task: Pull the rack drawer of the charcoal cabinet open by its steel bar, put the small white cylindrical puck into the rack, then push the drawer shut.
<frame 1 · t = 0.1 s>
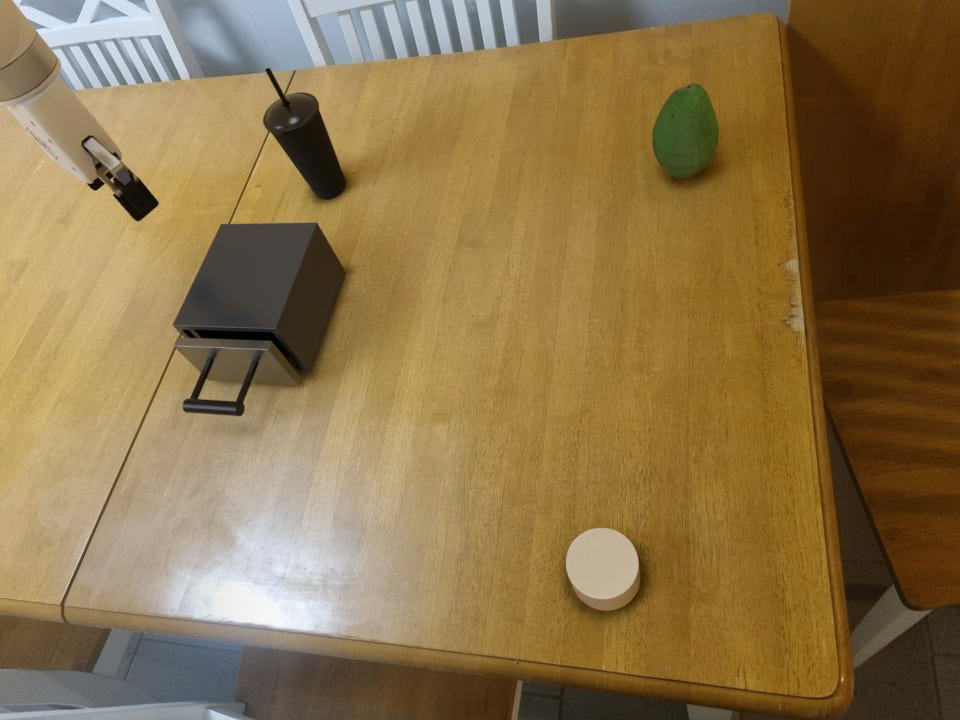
hand: (125, 197, 83), 20 cm above the table, tool pointing down, fingers open, 9 cm apart
drinking cup: (331, 188, 106), on the table
drawer: (247, 338, 87), point 5 cm above the table, slide at 1.0 cm
white cylindrical puck: (605, 575, 68), on the table
fruit: (684, 169, 93), on the table
cabinet: (282, 319, 94), on the table
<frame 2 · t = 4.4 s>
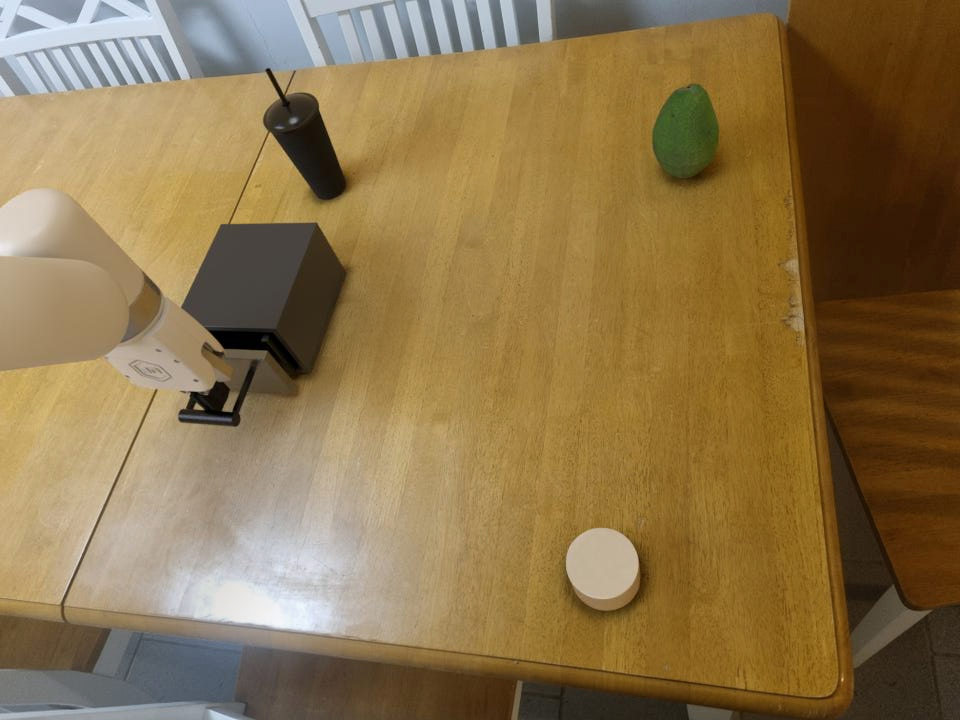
hand: (219, 401, 83), 5 cm above the table, tool pointing down, fingers closed
drawer: (244, 347, 87), point 5 cm above the table, slide at 2.3 cm, touching gripper
everything else where it was.
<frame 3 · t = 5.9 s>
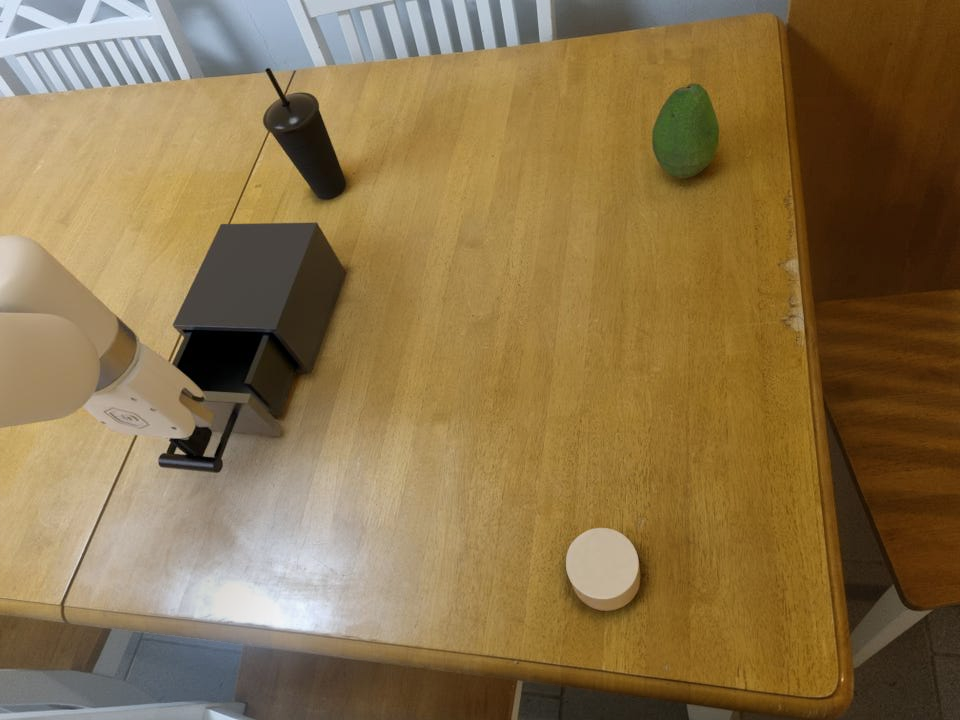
hand: (201, 444, 80), 5 cm above the table, tool pointing down, fingers closed
drawer: (227, 387, 84), point 5 cm above the table, slide at 7.7 cm, touching gripper
everything else where it was.
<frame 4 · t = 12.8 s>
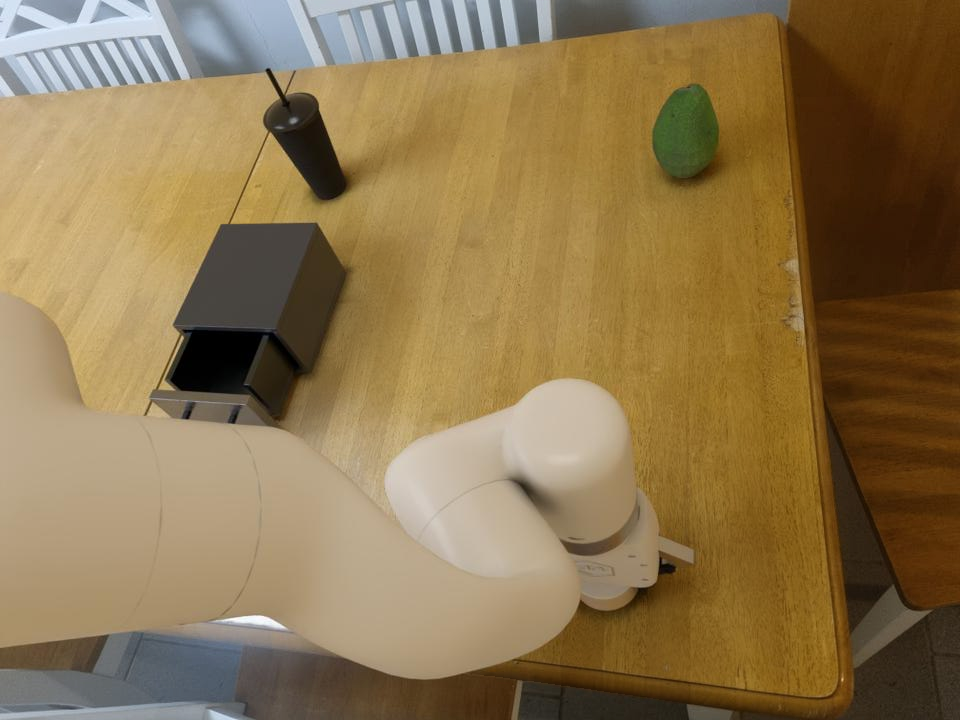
hand: (604, 573, 67), 1 cm above the table, tool pointing down, fingers closed on white cylindrical puck, 6 cm apart
drawer: (227, 388, 84), point 5 cm above the table, slide at 7.9 cm
white cylindrical puck: (605, 575, 68), on the table, touching gripper
everything else where it was.
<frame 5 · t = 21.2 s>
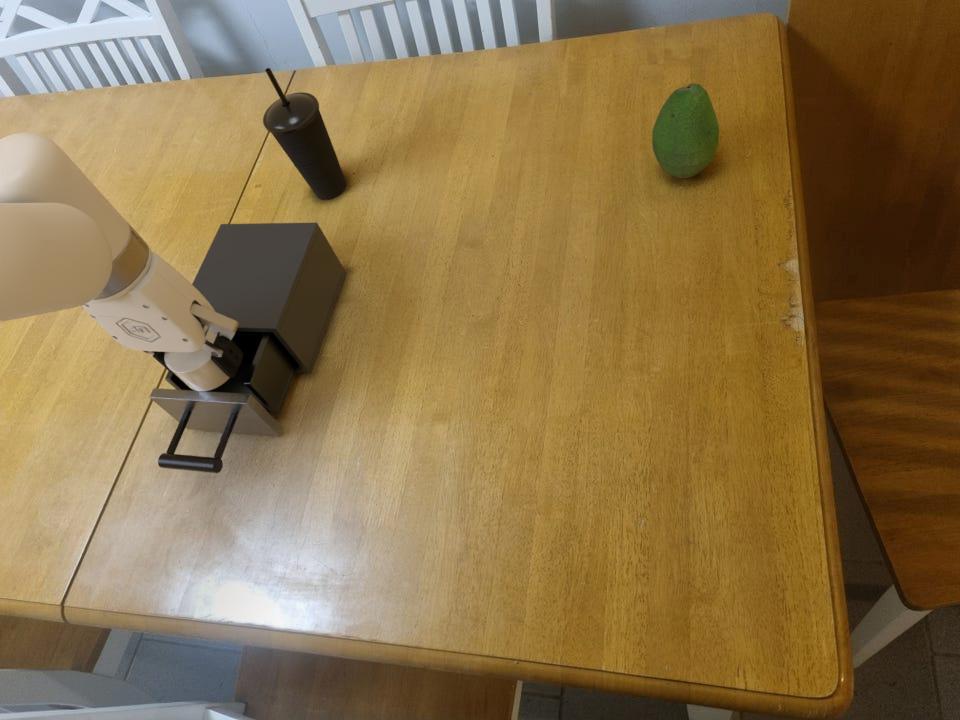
hand: (208, 363, 80), 9 cm above the table, tool pointing down, fingers closed on white cylindrical puck, 6 cm apart
drawer: (227, 387, 84), point 5 cm above the table, slide at 7.8 cm, touching white cylindrical puck
white cylindrical puck: (211, 366, 81), point 9 cm above the table, touching drawer, gripper
everything else where it was.
when the fingers open (9 cm above the table, at t = 21.3 s): white cylindrical puck drops 3 cm and tips over, resting on drawer.
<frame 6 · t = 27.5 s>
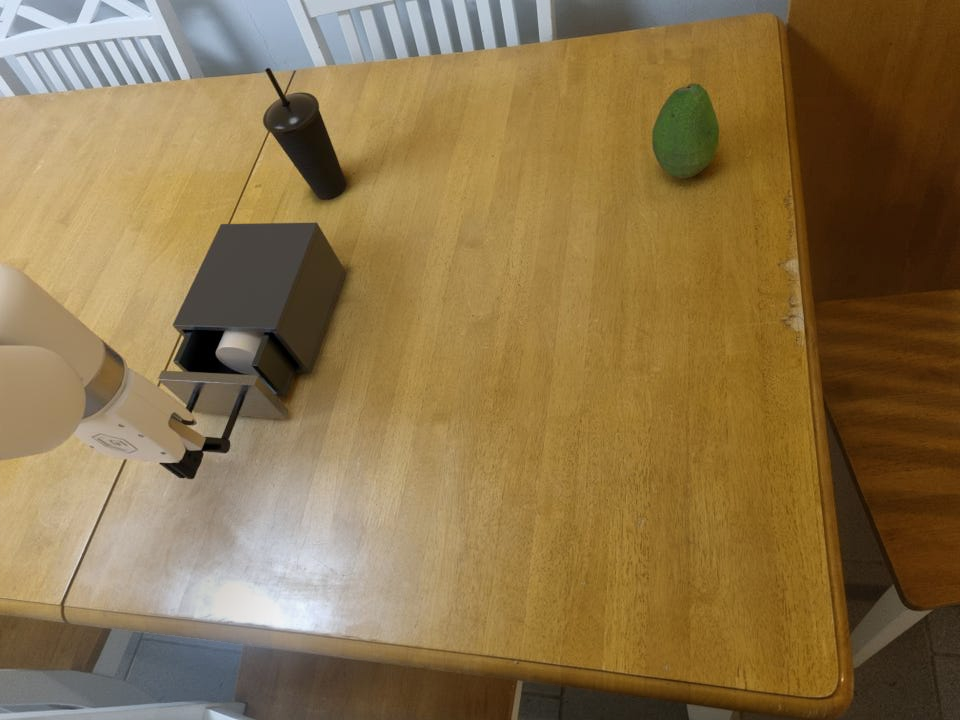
hand: (192, 465, 79), 5 cm above the table, tool pointing down, fingers closed
drawer: (234, 370, 85), point 5 cm above the table, slide at 5.5 cm, touching white cylindrical puck
white cylindrical puck: (242, 361, 85), point 5 cm above the table, tilted 90°, touching drawer
everything else where it was.
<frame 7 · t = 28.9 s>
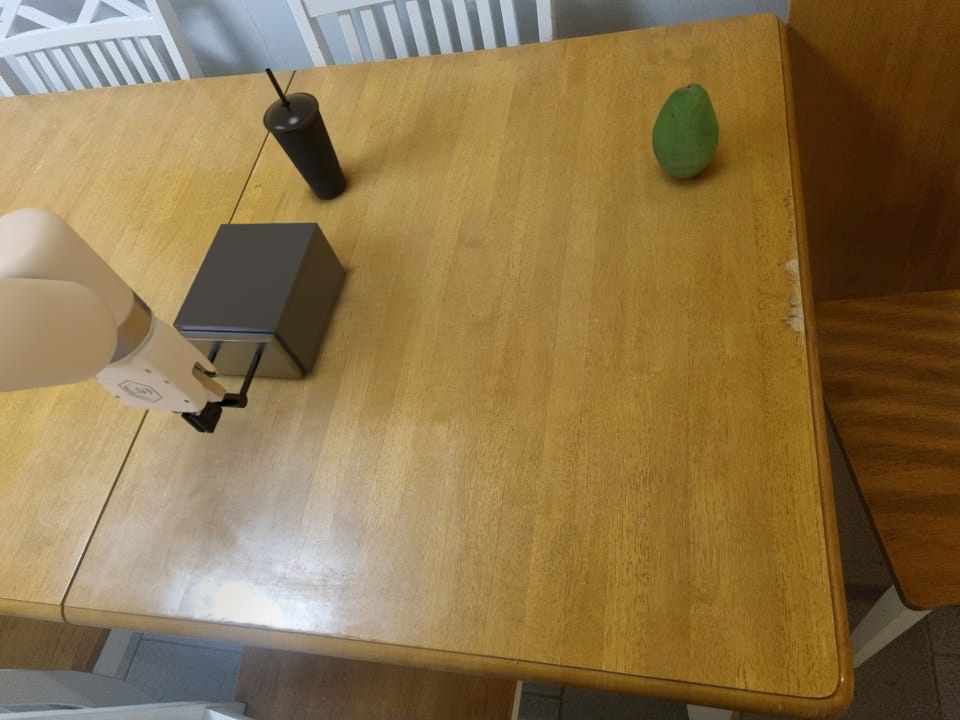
hand: (211, 421, 81), 5 cm above the table, tool pointing down, fingers closed
drawer: (250, 331, 88), point 5 cm above the table, slide at 0.0 cm, touching cabinet, white cylindrical puck, gripper
white cylindrical puck: (255, 323, 88), point 5 cm above the table, tilted 90°, touching drawer
everything else where it was.
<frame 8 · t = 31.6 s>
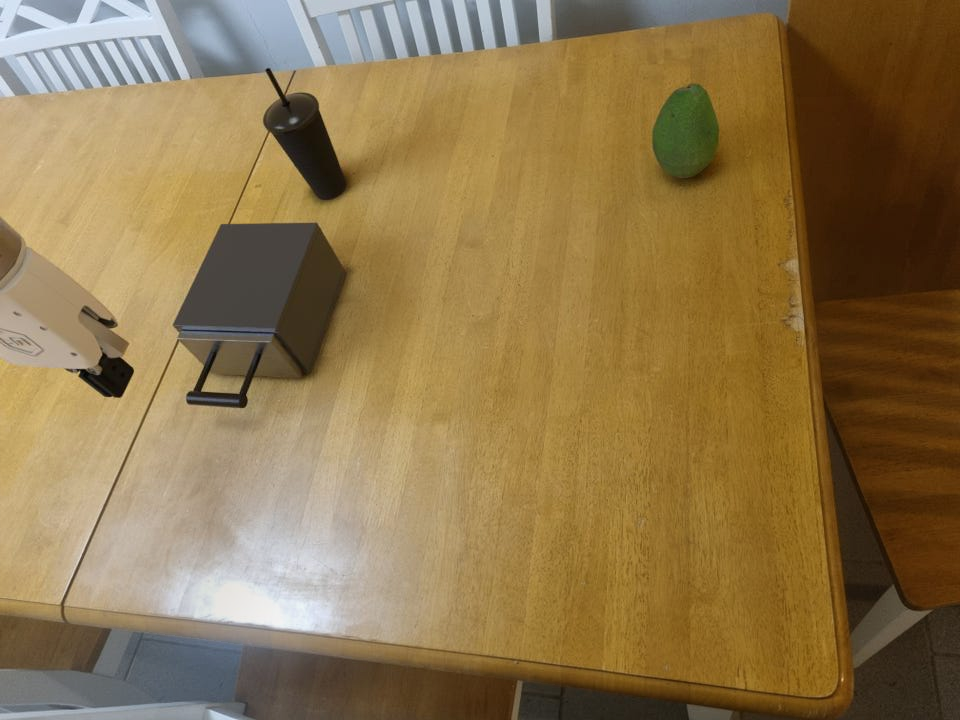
hand: (120, 383, 68), 19 cm above the table, tool pointing down, fingers closed
drawer: (250, 331, 88), point 5 cm above the table, slide at 0.0 cm, touching cabinet, white cylindrical puck
everything else where it was.
at the end: drawer pulled out 7.9 cm at the most during the clip, back to where it started at the end; white cylindrical puck inside the target area in the cabinet (3.3 cm from its centre), point 5.2 cm above the cabinet's base; drawer slide at 0.0 cm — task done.
